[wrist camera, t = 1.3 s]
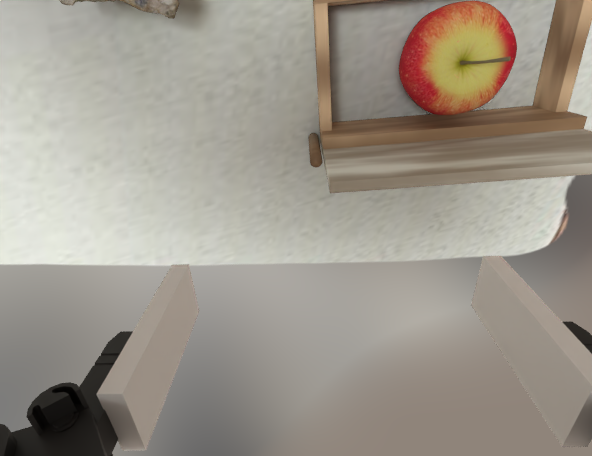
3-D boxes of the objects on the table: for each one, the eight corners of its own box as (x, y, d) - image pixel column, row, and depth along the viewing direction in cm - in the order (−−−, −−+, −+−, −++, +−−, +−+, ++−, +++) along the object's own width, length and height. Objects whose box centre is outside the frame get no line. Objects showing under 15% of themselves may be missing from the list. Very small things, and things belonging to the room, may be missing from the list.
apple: (482, 92, 34) (545, 111, 25) (394, 114, 35) (425, 140, 26) (481, -6, 30) (555, -25, 22) (383, 22, 31) (415, 15, 23)
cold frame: (298, -5, 30) (297, -35, 18) (575, -33, 29) (775, -85, 17) (308, 142, 37) (312, 195, 24) (538, 124, 35) (665, 170, 23)
